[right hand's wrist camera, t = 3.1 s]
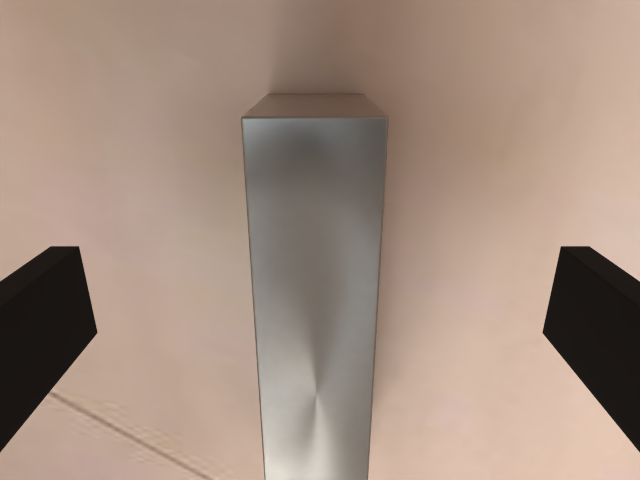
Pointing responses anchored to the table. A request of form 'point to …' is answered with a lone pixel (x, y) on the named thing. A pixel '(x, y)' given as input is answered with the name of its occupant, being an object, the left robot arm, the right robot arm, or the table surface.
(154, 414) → the table surface
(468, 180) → the table surface
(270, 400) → the bar
